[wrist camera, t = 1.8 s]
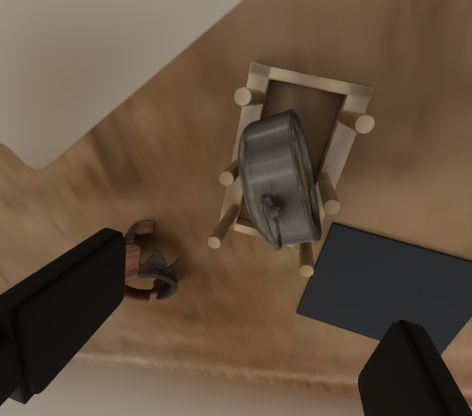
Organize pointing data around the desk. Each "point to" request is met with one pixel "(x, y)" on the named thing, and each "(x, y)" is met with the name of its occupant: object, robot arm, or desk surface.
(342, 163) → the dowel rack
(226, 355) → the desk surface
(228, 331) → the desk surface
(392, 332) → the robot arm
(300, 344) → the desk surface
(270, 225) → the alarm clock
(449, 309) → the desk mat
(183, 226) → the desk surface
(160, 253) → the pottery mug
